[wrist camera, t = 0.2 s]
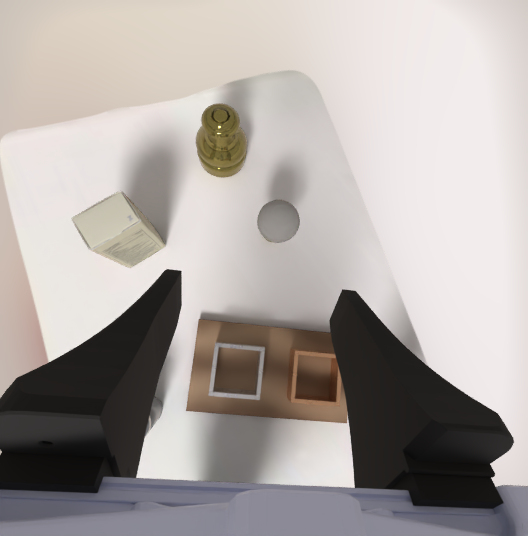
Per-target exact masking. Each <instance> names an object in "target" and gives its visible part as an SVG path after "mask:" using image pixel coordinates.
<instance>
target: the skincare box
mask: <svg viewBox="0 0 528 536" xmlns="http://www.w3.org/2000/svg"><path fill="white" fill-rule="evenodd" d="M72 221H73V223H74V225H75V227H76V228H77V230H78V232H79V234H80V235H81V237H82V239H83V240H84V242H85V244H86V245H87V247H88V248H89V250H91V251H93V252H96V253H98V254H100V255H102V256H104V257H106V258H109V259H111V260H113V261H115V262H117V263H119V264H121V265H124V266H126V267H128V268H131V267H133V266H135V265H136V264H138V263H140V262H142V261H143V260H145V259H146V258H148V257H150V256H151V255H153V254H154V253H156V252H158V251H159V250H161V249H162V248H164V247H165V244H164V242H163V240H162V239H161V237H160V236H159V234H158V233H157V231H156V230H155V228H154V227H153V225H152V224H151V223H150V222H149V221H148V219H147V218H146V217H145V216H144V215H143V214H142V213H141V212H140V211H139V209H138V208H137V207H136V206H135V205H134V204H133V203H132V202H131V200H130V199H129V198H128V197H127V196H126V195H125V194H124V193H123V192H122V191H119V192H117V193H115V194H113V195H111V196H109V197H107V198H105V199H103V200H101V201H100V202H98V203H96V204H94V205H93V206H91V207H89V208H88V209H86V210H84V211H82V212H81V213H79V214H78V215H76V216H74V217H73V218H72Z"/></svg>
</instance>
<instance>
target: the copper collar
mask: <svg viewBox="0 0 528 536" xmlns="http://www.w3.org/2000/svg"><path fill="white" fill-rule="evenodd" d="M298 355H306V356H317V357H327V358H331V372H330V389H329V397H325V396H313V395H301V394H295V391H296V378H297V365H298ZM340 393H341V375H340V371H339V367H338V364H337V360H336V356H335V353H330V352H320V351H310V350H299V349H290V361H289V373H288V385H287V398H288V400H289V401H290V402H291V403H302V404H314V405H326V406H338V407H340Z"/></svg>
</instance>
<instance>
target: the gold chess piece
mask: <svg viewBox="0 0 528 536" xmlns="http://www.w3.org/2000/svg"><path fill="white" fill-rule="evenodd" d="M201 121H202V126H201V127H200V129H199V130H198V132H197V136H196V147H197V153H198V156H199V160H200V163H201V165H202V167H203V168H204V169H205V170H206V171H207V172H208V173H210V174H211V175H214V176H217V177H229V176H232V175H234V174H236V173H238V172H239V171H240V170H241V168H242V167H243V165H244V162H245V157H246V149H247V139H246V135H245V133H244V131H243V130H242V128H241V127H240V120H239V116H238V114H237V112H236V111H235V110H234V109H233V108H232V107H230V106H229V105H226V104H220V103H219V104H213V105H211V106H209V107H208V108H206V109H205V111H204V112H203V114H202V120H201Z"/></svg>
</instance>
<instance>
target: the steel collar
mask: <svg viewBox="0 0 528 536" xmlns="http://www.w3.org/2000/svg"><path fill="white" fill-rule="evenodd" d="M219 347H223V348H234V349H244V350H255V351H258V361H257V371H256V380H255V390H242V389H230V388H219V387H214V384H215V376H216V368H217V360H218V352H219ZM264 353H265V347H263V346H259V345H248V344H238V343H228V342H218V341H216V342H215V348H214V356H213V364H212V371H211V379H210V387H209V395H208V396H217V397H229V398H241V399H253V400H260V393H261V383H262V373H263V363H264Z"/></svg>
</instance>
